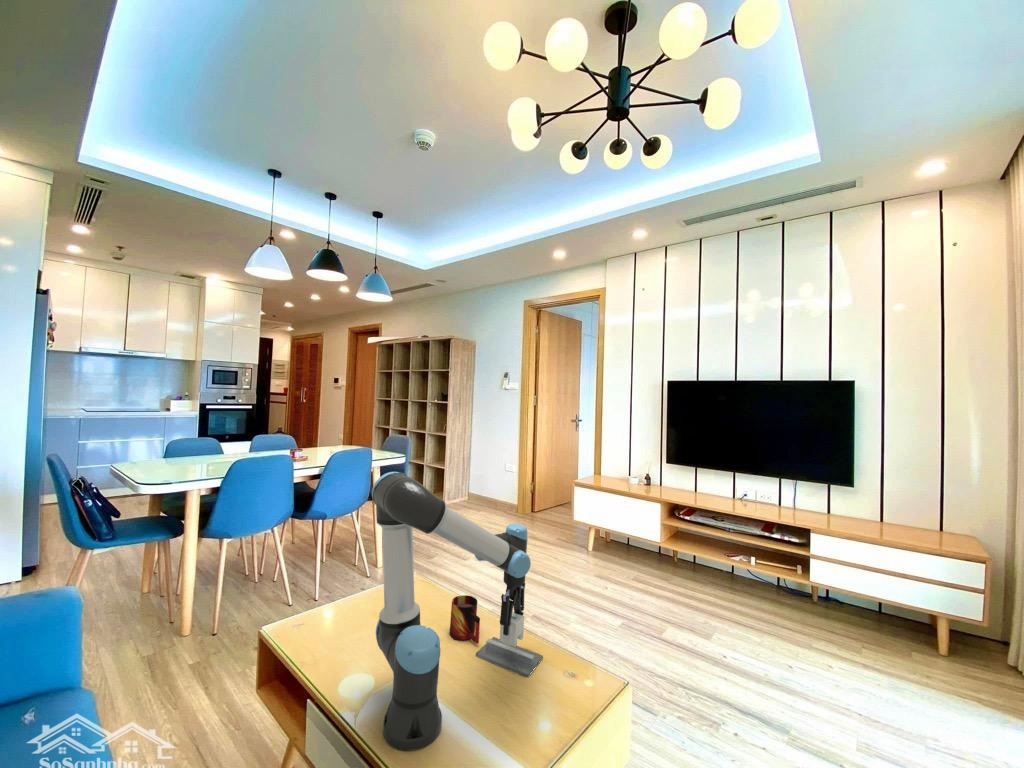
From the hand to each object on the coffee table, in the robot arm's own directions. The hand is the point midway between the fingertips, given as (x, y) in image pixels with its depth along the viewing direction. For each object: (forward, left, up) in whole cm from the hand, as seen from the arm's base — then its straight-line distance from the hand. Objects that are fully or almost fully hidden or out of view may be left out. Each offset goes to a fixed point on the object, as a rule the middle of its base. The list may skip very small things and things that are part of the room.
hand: (511, 638), depth 142 cm
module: (0, 0, 0) cm, 0 cm away
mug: (+3, +20, -6) cm, 21 cm away
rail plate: (0, 0, -6) cm, 6 cm away
